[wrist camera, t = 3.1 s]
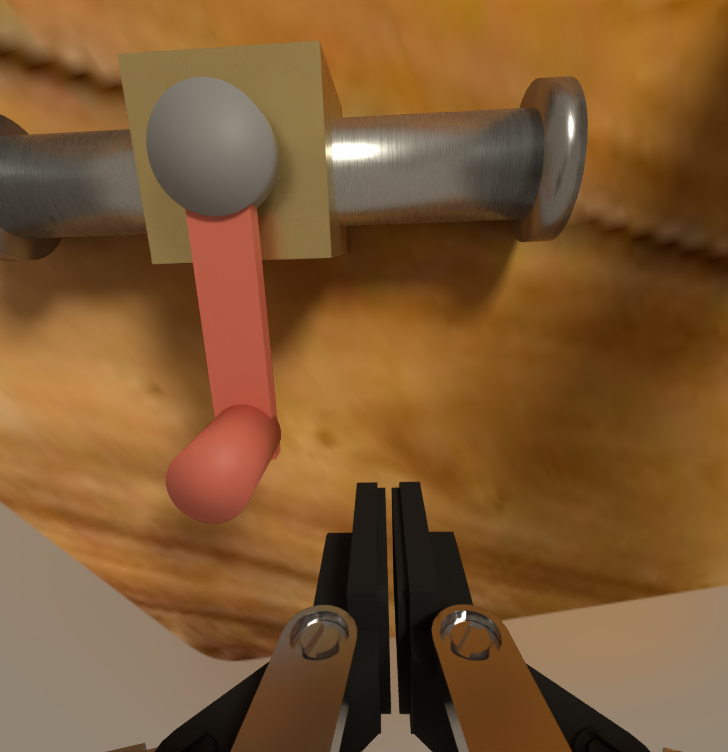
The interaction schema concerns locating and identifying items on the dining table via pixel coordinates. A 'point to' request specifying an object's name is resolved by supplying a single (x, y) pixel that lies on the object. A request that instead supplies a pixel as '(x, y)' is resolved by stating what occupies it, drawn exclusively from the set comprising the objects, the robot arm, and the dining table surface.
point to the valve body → (300, 162)
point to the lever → (222, 284)
